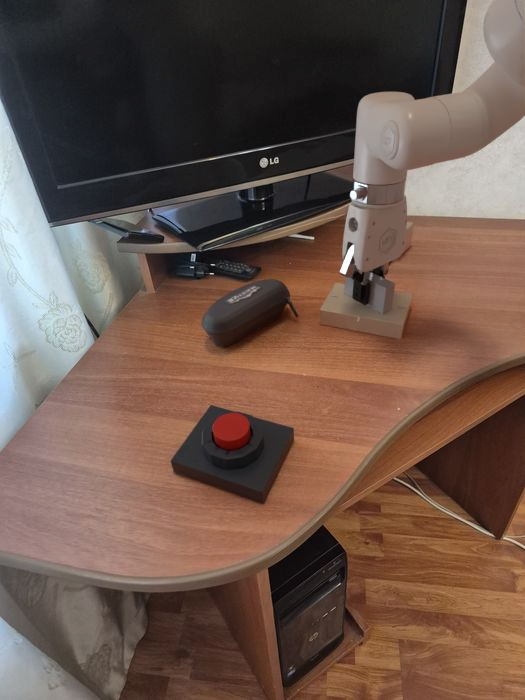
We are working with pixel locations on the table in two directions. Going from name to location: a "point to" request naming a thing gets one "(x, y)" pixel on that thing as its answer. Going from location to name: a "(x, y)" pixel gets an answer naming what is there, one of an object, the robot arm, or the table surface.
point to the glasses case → (246, 311)
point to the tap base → (365, 314)
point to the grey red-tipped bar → (375, 292)
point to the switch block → (235, 456)
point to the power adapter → (408, 235)
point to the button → (231, 431)
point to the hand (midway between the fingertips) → (367, 297)
